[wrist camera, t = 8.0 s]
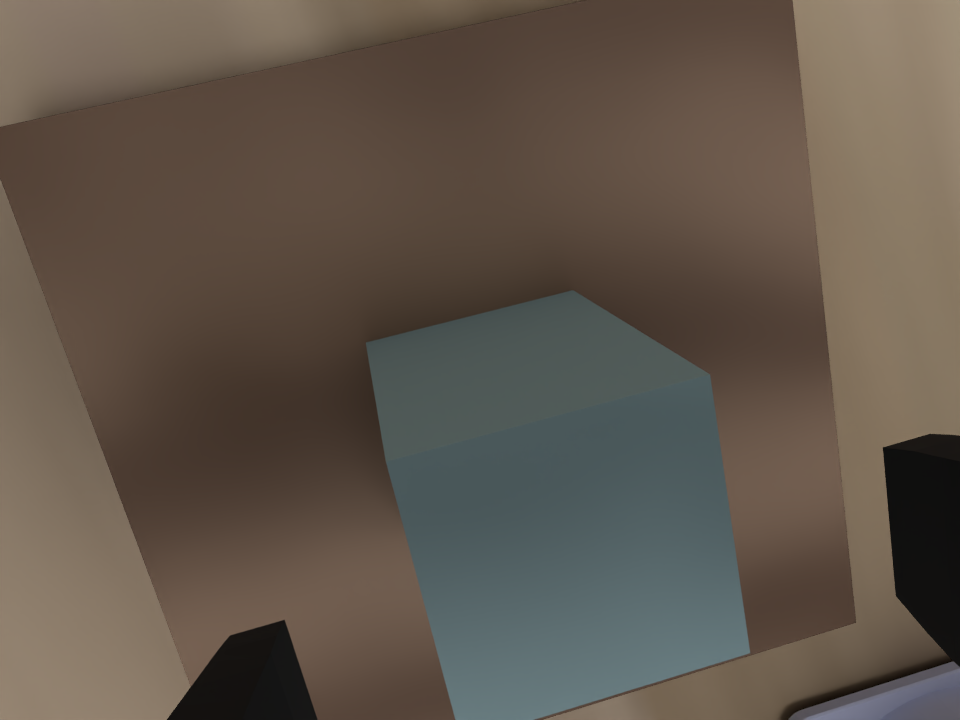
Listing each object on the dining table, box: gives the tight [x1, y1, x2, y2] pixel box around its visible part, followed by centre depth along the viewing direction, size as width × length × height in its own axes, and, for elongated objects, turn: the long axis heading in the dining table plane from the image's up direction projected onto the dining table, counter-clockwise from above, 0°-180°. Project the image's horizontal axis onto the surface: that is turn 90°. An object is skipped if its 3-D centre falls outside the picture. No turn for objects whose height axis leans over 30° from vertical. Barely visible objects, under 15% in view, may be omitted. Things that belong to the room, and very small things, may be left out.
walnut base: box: [0, 0, 856, 720], centre depth 17 cm, size 14×14×2 cm
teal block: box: [366, 290, 750, 720], centre depth 13 cm, size 4×4×6 cm
